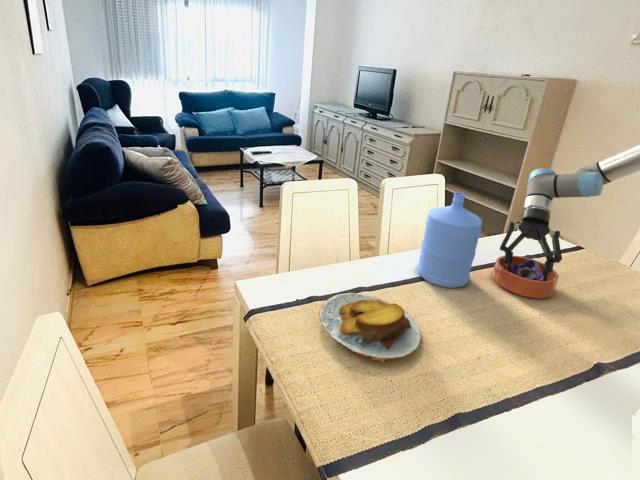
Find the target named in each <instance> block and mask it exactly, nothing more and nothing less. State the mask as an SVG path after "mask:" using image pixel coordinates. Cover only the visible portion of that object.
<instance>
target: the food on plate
mask: <svg viewBox="0 0 640 480" xmlns="http://www.w3.org/2000/svg"><path fill="white" fill-rule="evenodd" d="M318 317H319V321H320V322H321V324H322V325H321V326H323V327H324V330H325V331H326V332H327V333H328V334H329V335H330V337H331V338H333V339H334V340H336V341H337V342H338V343H339V344H342V345H343V346H345V347H346V348H347V349H350V350H351V352H353V353H354V352H355V353H357V355H360V356H363V357H371V359H372V360H373V361H379V360H380V362H385V360H389V361H390V360H394V359H399V358H400V359H401V358H405V357H408V356H409V355H410V354H413V353H414V352H415V351H416V349H417V348H418V347H419V346H420V341H421V340H422V338H421V336H422V335H421V334H420V333H421V330H420V329H419V328H418V325H417V324H416V322H415V320H414V318H413V317H412V316H410V314H408V312H407V311H405V310H404V308H402V306H400V305H399V304H397V303H391V302H388V301H385V300H383V299H382V298H380V297H377V296H375V295H370V294H363V293H356V292H348V293H339V294H335V295H333V296H331V297H329V298H327V300H325V302H323V303H322V304H321V306H320V309H319V311H318Z"/></svg>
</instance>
